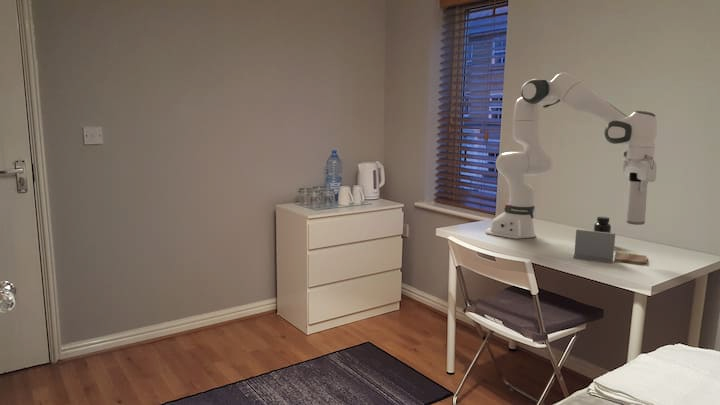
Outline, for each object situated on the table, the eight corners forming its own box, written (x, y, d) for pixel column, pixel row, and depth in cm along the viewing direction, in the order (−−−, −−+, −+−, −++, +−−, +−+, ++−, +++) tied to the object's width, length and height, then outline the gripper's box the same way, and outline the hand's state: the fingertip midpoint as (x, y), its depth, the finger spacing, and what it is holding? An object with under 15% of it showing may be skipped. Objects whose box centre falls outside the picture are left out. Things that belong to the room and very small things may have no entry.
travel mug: (622, 222, 207) (625, 172, 203) (634, 220, 209) (637, 170, 206) (636, 225, 201) (639, 173, 198) (648, 223, 204) (651, 172, 200)
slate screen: (573, 258, 209) (575, 231, 207) (574, 255, 212) (576, 229, 210) (612, 263, 202) (614, 235, 201) (612, 260, 206) (615, 233, 204)
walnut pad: (614, 261, 205) (614, 258, 205) (615, 254, 215) (615, 252, 215) (646, 265, 200) (646, 262, 200) (646, 258, 210) (646, 255, 210)
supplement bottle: (611, 246, 228) (613, 219, 225) (594, 245, 229) (596, 218, 227) (607, 242, 234) (609, 216, 232) (590, 241, 236) (593, 215, 233)
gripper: (663, 156, 190) (659, 194, 193) (637, 152, 210) (633, 186, 213) (645, 156, 191) (641, 194, 193) (621, 152, 211) (617, 186, 213)
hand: (637, 190), depth 203 cm, fingers closed on travel mug, 6 cm apart
